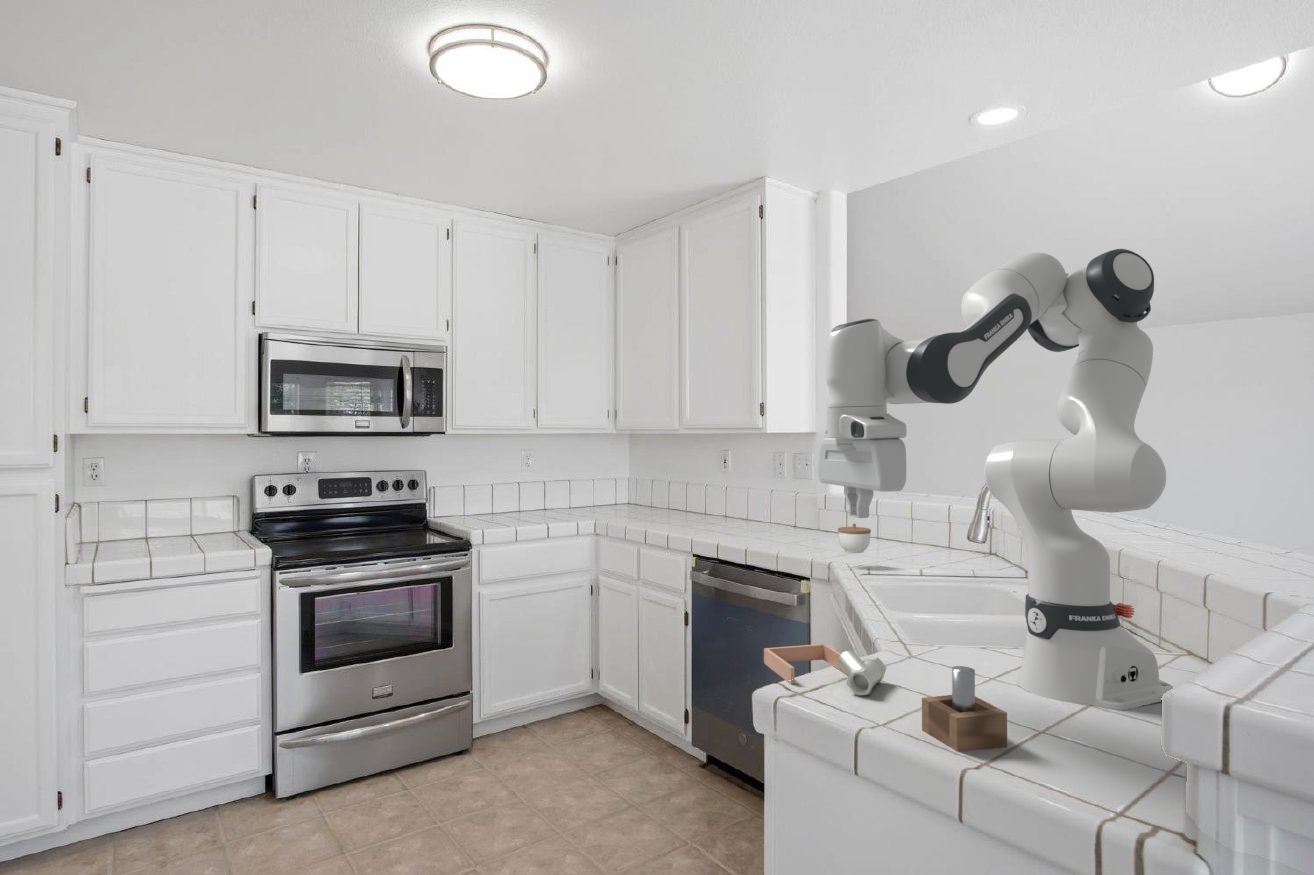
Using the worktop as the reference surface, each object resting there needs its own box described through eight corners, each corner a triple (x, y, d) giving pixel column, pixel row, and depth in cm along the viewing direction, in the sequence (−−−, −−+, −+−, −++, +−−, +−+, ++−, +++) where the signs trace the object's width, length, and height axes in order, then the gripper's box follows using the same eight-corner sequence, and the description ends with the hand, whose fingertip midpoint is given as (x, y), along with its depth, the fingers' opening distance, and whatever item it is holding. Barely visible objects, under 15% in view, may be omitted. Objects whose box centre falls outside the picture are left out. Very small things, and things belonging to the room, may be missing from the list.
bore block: (969, 727, 95) (969, 693, 95) (1007, 749, 88) (1007, 712, 88) (921, 732, 93) (921, 697, 93) (956, 755, 86) (956, 718, 86)
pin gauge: (965, 736, 92) (965, 665, 92) (979, 744, 89) (979, 671, 89) (948, 738, 91) (947, 666, 91) (961, 746, 89) (961, 673, 89)
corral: (824, 658, 125) (824, 643, 125) (856, 678, 114) (856, 662, 114) (763, 663, 122) (763, 648, 122) (790, 684, 112) (790, 668, 112)
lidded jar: (850, 548, 251) (850, 521, 251) (877, 552, 243) (877, 524, 243) (831, 551, 244) (831, 523, 244) (858, 555, 236) (858, 526, 236)
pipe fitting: (847, 642, 115) (888, 661, 112) (840, 664, 116) (881, 684, 113) (830, 656, 109) (874, 677, 105) (823, 679, 109) (866, 701, 106)
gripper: (807, 427, 119) (809, 511, 120) (873, 426, 100) (875, 526, 100) (842, 426, 121) (844, 508, 121) (913, 425, 101) (916, 523, 101)
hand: (859, 517), depth 110 cm, fingers closed
